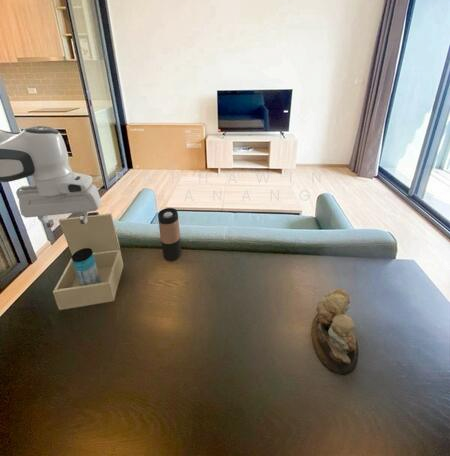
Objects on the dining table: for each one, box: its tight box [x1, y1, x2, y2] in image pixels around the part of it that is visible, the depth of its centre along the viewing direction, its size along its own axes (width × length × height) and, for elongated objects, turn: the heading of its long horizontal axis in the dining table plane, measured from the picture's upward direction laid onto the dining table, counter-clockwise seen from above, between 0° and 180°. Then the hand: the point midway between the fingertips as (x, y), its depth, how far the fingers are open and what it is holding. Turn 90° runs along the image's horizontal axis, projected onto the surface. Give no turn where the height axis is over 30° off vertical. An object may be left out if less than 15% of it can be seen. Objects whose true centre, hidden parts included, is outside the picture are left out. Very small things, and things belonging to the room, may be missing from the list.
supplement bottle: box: [71, 248, 101, 286], centre depth 82 cm, size 6×6×15 cm
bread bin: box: [52, 249, 124, 311], centre depth 85 cm, size 16×17×8 cm
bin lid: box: [58, 211, 121, 256], centre depth 89 cm, size 16×17×5 cm
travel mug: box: [157, 207, 182, 262], centre depth 97 cm, size 8×8×20 cm
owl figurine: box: [311, 288, 359, 376], centre depth 65 cm, size 18×12×17 cm, turn 166°
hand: (67, 224), depth 73 cm, fingers open, 8 cm apart
